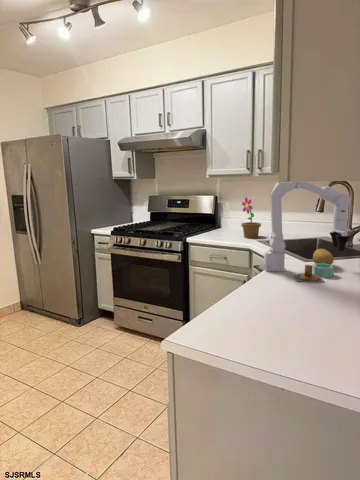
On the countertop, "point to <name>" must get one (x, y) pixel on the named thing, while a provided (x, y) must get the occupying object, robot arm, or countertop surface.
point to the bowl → (323, 270)
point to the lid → (308, 274)
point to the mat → (307, 281)
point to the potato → (322, 257)
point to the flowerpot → (250, 223)
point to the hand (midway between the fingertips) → (338, 248)
